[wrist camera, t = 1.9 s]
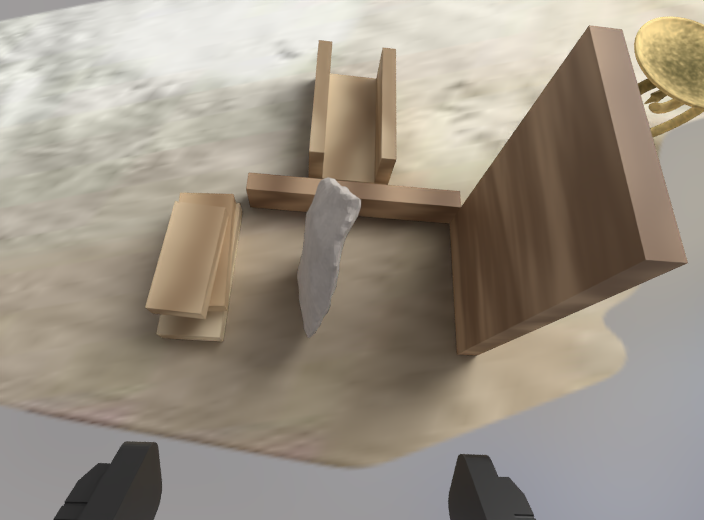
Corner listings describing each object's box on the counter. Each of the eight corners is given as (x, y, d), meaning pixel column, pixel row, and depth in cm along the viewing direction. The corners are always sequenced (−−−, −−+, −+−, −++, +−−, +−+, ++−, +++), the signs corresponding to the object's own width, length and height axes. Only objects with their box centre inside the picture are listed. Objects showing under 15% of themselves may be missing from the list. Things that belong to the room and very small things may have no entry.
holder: (308, 181, 38) (309, 151, 34) (317, 78, 42) (318, 40, 38) (386, 188, 38) (396, 159, 34) (386, 86, 43) (395, 49, 39)
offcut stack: (162, 338, 32) (141, 324, 27) (189, 207, 36) (174, 178, 32) (227, 341, 32) (216, 328, 28) (246, 212, 36) (238, 183, 32)
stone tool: (295, 239, 36) (289, 117, 22) (333, 237, 36) (352, 116, 22) (300, 349, 32) (299, 288, 19) (343, 346, 33) (372, 284, 19)
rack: (231, 341, 32) (133, 220, 14) (252, 192, 37) (202, -48, 18) (476, 355, 34) (688, 263, 15) (465, 210, 39) (615, 6, 20)
